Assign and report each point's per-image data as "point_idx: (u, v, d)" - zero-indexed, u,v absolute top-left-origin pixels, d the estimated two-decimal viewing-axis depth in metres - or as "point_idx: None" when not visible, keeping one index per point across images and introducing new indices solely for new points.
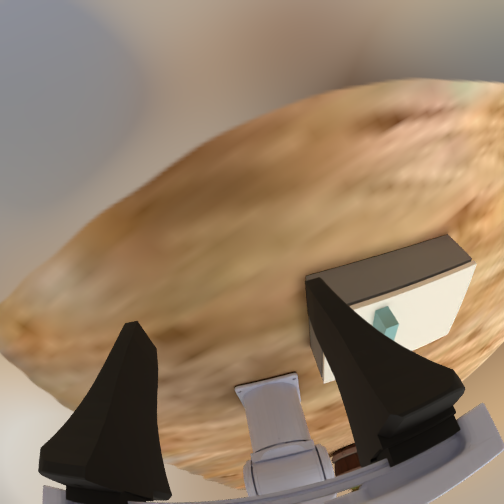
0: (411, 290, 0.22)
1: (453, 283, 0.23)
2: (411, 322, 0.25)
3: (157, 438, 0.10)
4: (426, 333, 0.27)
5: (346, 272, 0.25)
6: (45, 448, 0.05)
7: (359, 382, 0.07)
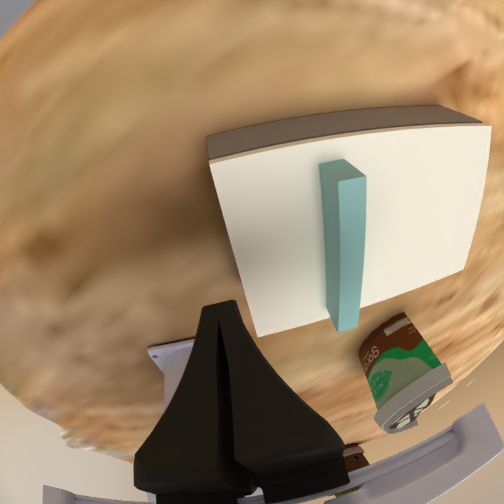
0: (385, 133, 0.11)
1: (461, 150, 0.12)
2: (401, 219, 0.14)
3: None
4: (431, 256, 0.16)
5: (271, 125, 0.15)
6: (142, 454, 0.06)
7: None
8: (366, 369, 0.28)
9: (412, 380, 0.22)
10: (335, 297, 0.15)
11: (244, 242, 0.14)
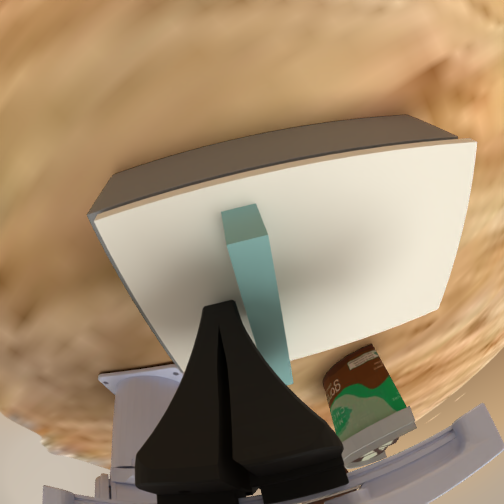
0: (314, 165, 0.10)
1: (433, 177, 0.10)
2: (346, 266, 0.12)
3: None
4: (392, 301, 0.15)
5: (176, 159, 0.13)
6: (143, 454, 0.06)
7: None
8: (328, 401, 0.27)
9: (372, 422, 0.20)
10: None
11: (149, 298, 0.12)
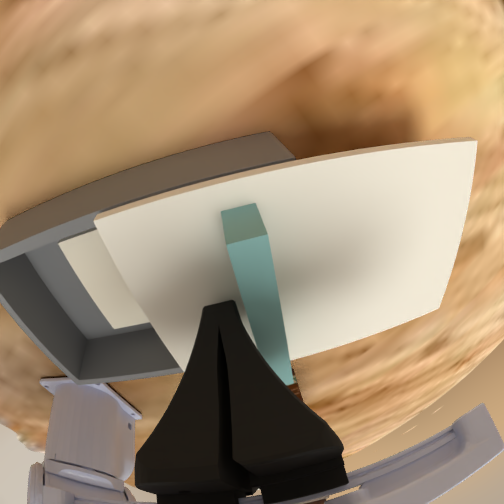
0: (314, 164, 0.09)
1: (433, 176, 0.10)
2: (347, 266, 0.12)
3: None
4: (393, 300, 0.15)
5: (37, 210, 0.12)
6: (143, 455, 0.06)
7: None
8: None
9: None
10: None
11: (149, 298, 0.12)
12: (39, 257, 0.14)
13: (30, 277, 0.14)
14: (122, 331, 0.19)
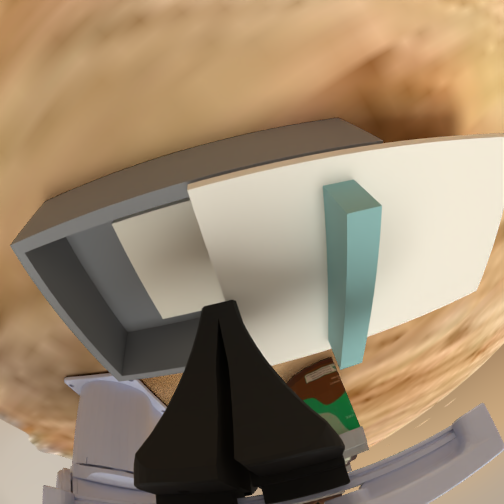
0: (403, 147, 0.09)
1: (485, 165, 0.10)
2: (415, 244, 0.12)
3: None
4: (444, 280, 0.14)
5: (89, 187, 0.12)
6: (142, 455, 0.06)
7: None
8: None
9: None
10: (338, 335, 0.13)
11: (233, 277, 0.12)
12: (84, 241, 0.14)
13: (72, 263, 0.14)
14: (169, 321, 0.19)
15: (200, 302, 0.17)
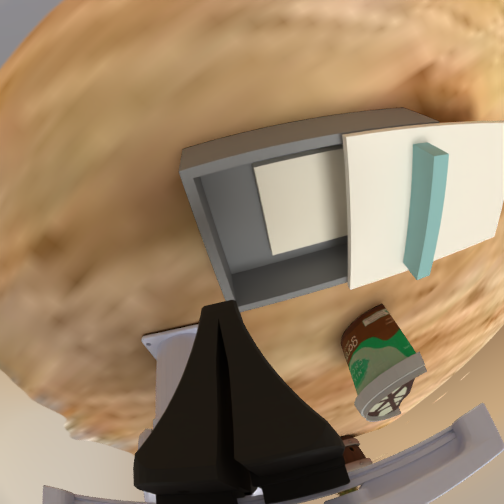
0: (451, 125, 0.14)
1: (495, 140, 0.15)
2: (457, 190, 0.17)
3: None
4: (473, 222, 0.19)
5: (237, 137, 0.17)
6: (142, 455, 0.06)
7: None
8: (347, 358, 0.31)
9: (387, 368, 0.24)
10: (418, 248, 0.17)
11: (359, 201, 0.16)
12: (217, 184, 0.19)
13: (206, 202, 0.19)
14: (271, 261, 0.23)
15: (306, 239, 0.22)
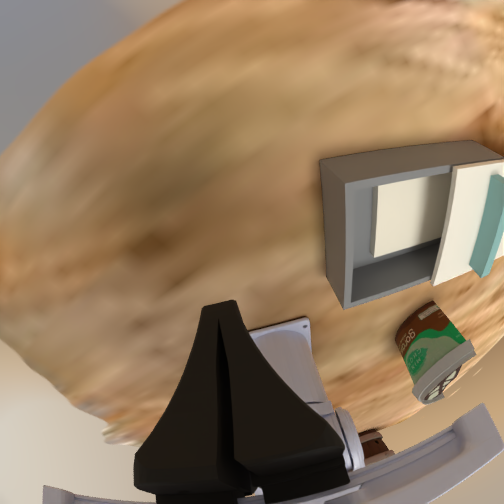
0: None
1: None
2: None
3: None
4: None
5: (368, 156, 0.19)
6: (142, 454, 0.06)
7: None
8: (403, 349, 0.33)
9: (444, 354, 0.27)
10: (485, 253, 0.19)
11: (455, 217, 0.18)
12: None
13: None
14: (368, 262, 0.25)
15: (399, 244, 0.24)
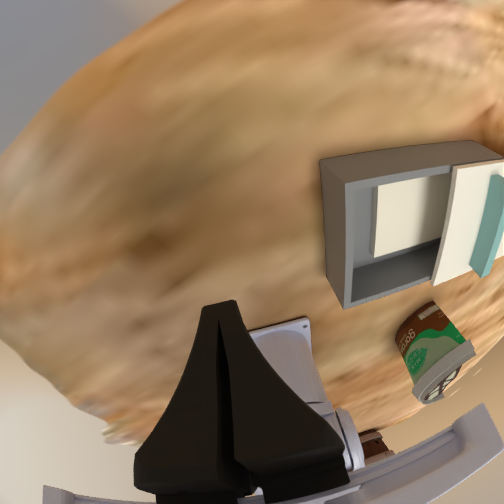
0: None
1: None
2: None
3: None
4: None
5: (368, 156, 0.19)
6: (142, 454, 0.06)
7: None
8: (403, 349, 0.33)
9: (444, 354, 0.26)
10: (485, 253, 0.19)
11: (455, 217, 0.18)
12: None
13: None
14: (368, 262, 0.25)
15: (399, 244, 0.24)
